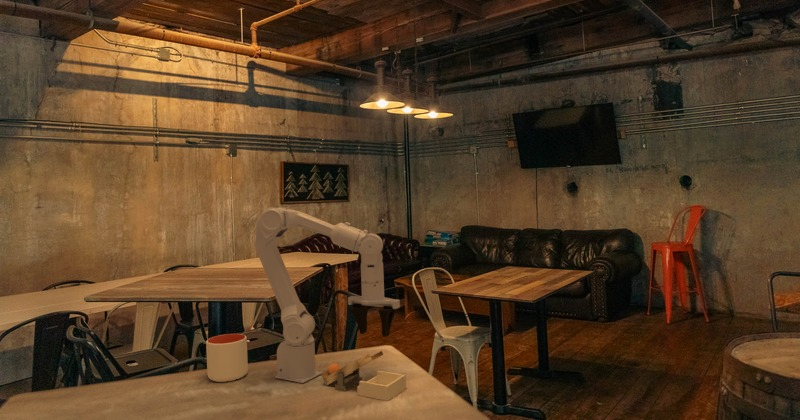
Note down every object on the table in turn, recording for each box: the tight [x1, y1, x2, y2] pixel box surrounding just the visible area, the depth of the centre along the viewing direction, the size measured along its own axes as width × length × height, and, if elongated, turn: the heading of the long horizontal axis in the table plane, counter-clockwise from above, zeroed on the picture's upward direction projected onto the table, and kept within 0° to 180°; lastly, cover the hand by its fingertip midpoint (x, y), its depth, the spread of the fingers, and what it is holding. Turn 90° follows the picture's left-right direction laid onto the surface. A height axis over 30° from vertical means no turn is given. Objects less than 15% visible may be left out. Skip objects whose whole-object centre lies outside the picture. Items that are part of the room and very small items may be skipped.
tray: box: [356, 370, 407, 402], centre depth 118 cm, size 8×8×3 cm
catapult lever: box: [321, 350, 384, 386], centre depth 125 cm, size 12×10×3 cm
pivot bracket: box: [334, 368, 363, 392], centre depth 123 cm, size 3×7×4 cm, turn 150°
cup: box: [205, 333, 249, 383], centre depth 132 cm, size 10×10×10 cm
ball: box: [327, 362, 341, 375], centre depth 125 cm, size 3×3×3 cm
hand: (374, 334), depth 129 cm, fingers open, 6 cm apart
